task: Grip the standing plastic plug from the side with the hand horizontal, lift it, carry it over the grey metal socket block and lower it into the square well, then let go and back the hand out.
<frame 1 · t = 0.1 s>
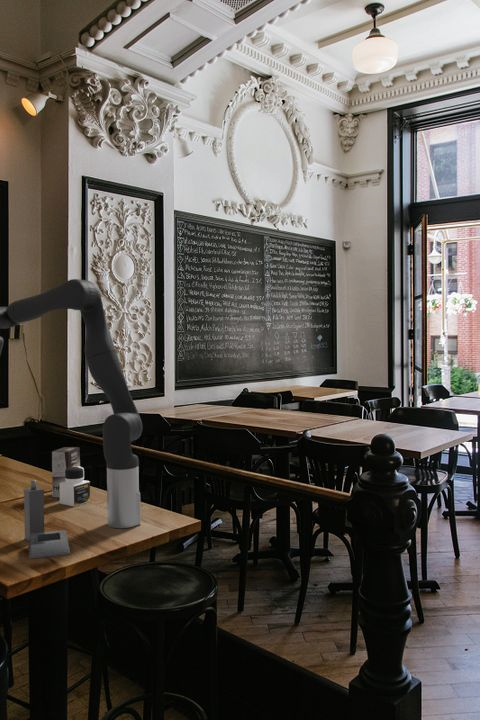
medicine bottle: (75, 503, 200), on the table
plug: (34, 539, 164), on the table
coffee box: (66, 495, 210), on the table
socket: (49, 550, 156), on the table
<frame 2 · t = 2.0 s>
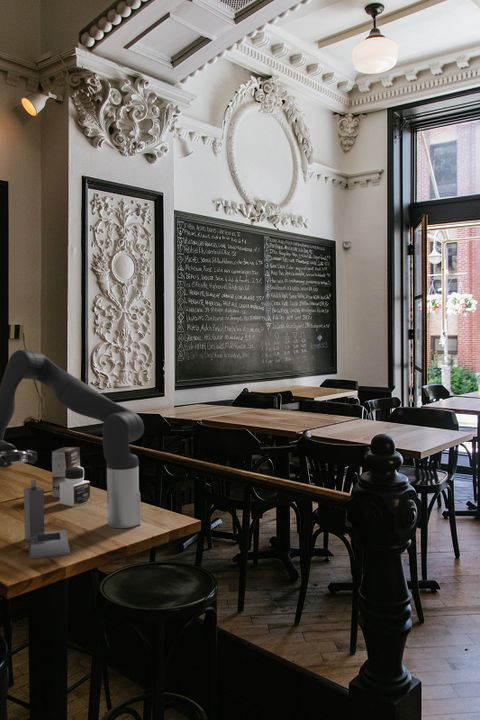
hand: (18, 462, 172), 20 cm above the table, tool horizontal, fingers open, 8 cm apart
nothing on the table moved.
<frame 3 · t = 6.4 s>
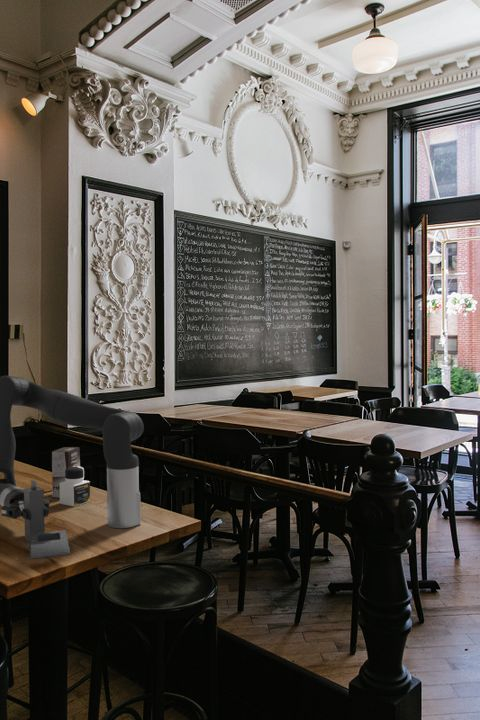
hand: (38, 514, 162), 8 cm above the table, tool horizontal, fingers closed on plug, 4 cm apart
plug: (34, 539, 164), on the table, touching gripper
everything else where it was.
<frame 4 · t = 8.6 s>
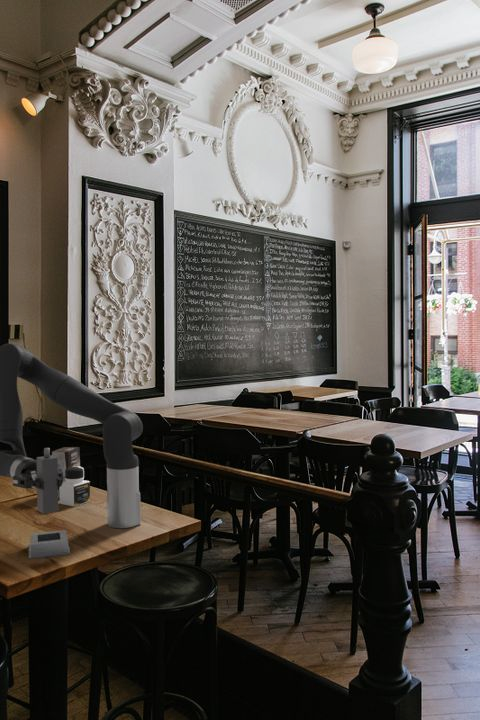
hand: (51, 484, 153), 18 cm above the table, tool horizontal, fingers closed on plug, 4 cm apart
plug: (47, 510, 156), point 10 cm above the table, touching gripper
everything else where it was.
when the fingers open (9 cm above the table, at t = 11.0 s): plug drops 1 cm, resting on socket.
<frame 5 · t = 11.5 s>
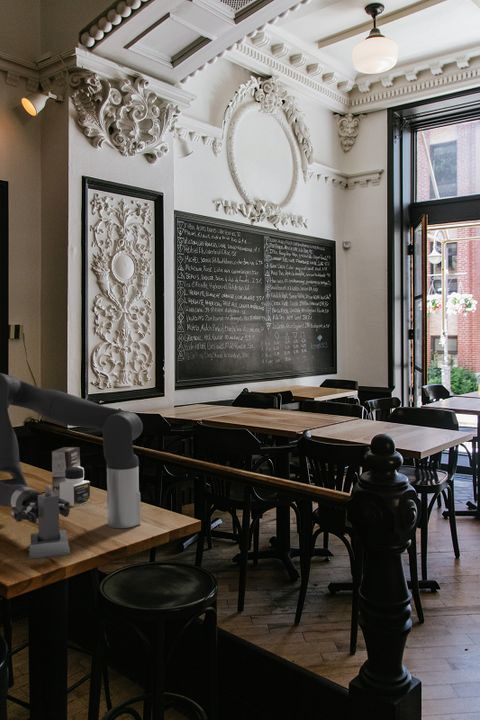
hand: (51, 516, 154), 9 cm above the table, tool horizontal, fingers open, 8 cm apart
plug: (49, 548, 156), resting on socket
everything else where it was.
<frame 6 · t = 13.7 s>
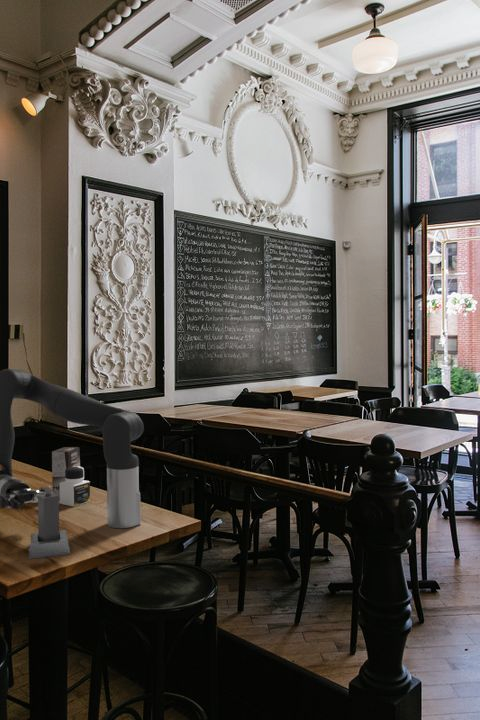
hand: (32, 502, 164), 10 cm above the table, tool horizontal, fingers open, 8 cm apart
nothing on the table moved.
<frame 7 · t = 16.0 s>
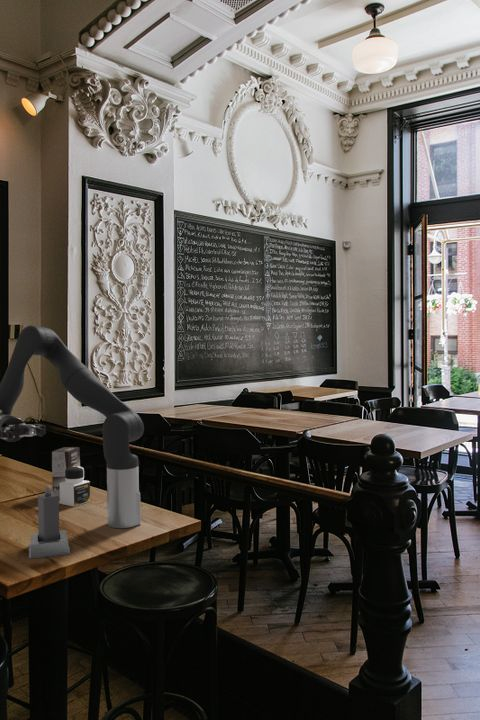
hand: (27, 434, 169), 28 cm above the table, tool horizontal, fingers open, 8 cm apart
nothing on the table moved.
at the end: plug 0.1 cm off-centre on the socket, point 0.4 cm above the socket's base; plug tilted 0°; the gripper is holding nothing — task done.
